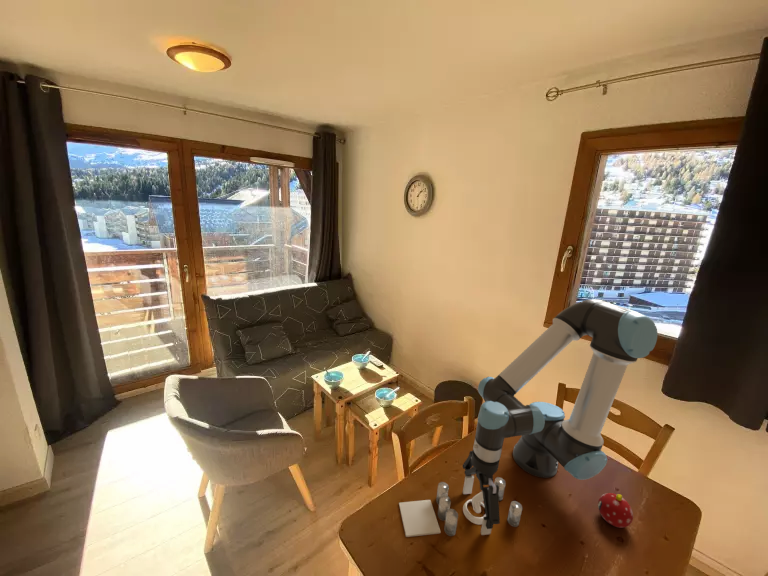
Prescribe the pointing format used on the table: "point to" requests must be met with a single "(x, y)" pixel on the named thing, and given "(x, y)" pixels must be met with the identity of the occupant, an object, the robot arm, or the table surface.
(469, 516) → the hook
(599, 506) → the christmas ornament
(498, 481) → the cylinder
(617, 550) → the table surface
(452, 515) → the cylinder
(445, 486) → the cylinder
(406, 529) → the felt pad
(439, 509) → the spacer
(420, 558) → the table surface
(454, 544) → the table surface
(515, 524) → the cylinder
